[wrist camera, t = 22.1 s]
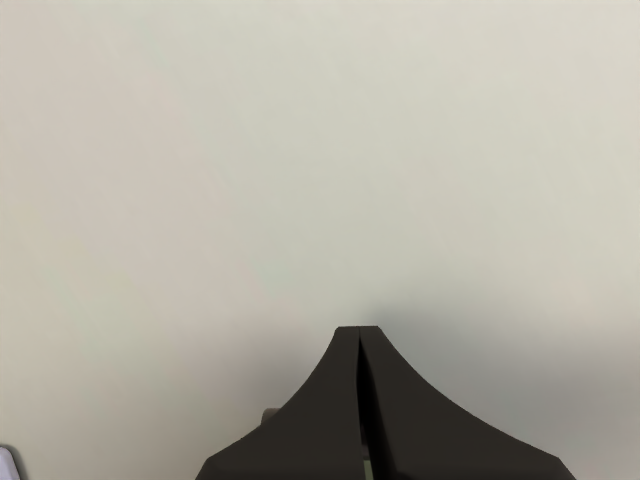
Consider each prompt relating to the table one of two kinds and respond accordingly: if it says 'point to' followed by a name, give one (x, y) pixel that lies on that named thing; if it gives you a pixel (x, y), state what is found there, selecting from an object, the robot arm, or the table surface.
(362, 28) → the table surface
